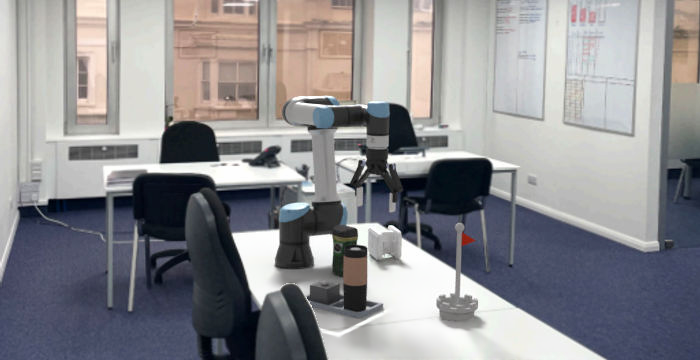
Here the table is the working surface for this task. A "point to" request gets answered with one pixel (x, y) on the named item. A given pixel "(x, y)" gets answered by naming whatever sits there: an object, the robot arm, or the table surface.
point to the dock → (339, 308)
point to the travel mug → (355, 277)
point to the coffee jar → (342, 245)
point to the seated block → (325, 292)
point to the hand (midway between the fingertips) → (375, 208)
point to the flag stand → (458, 289)
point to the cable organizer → (384, 242)
